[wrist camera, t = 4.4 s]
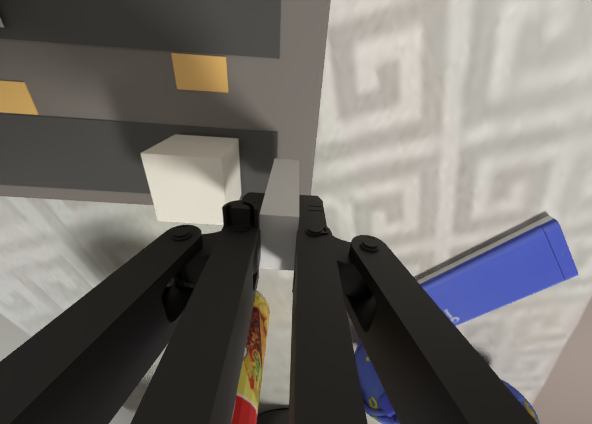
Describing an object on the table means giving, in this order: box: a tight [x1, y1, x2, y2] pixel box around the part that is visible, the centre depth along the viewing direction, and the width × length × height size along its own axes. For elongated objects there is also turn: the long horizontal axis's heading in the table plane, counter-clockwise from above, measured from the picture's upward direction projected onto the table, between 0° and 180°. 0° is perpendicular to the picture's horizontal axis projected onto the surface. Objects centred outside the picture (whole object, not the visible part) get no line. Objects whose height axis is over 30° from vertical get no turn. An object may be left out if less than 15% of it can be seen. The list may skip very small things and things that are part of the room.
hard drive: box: [417, 215, 578, 326], centre depth 25 cm, size 2×8×12 cm
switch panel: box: [0, 0, 330, 205], centre depth 15 cm, size 16×26×2 cm, turn 86°
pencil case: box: [354, 340, 540, 424], centre depth 28 cm, size 22×9×10 cm, turn 57°
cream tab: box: [140, 134, 241, 225], centre depth 15 cm, size 4×4×4 cm
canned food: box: [231, 291, 270, 424], centre depth 22 cm, size 8×8×12 cm
